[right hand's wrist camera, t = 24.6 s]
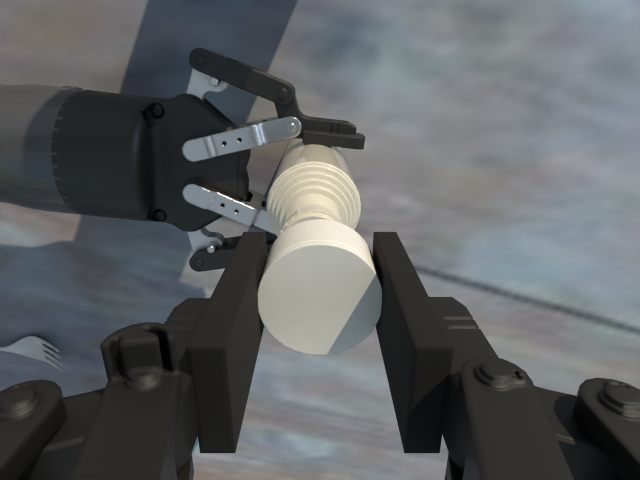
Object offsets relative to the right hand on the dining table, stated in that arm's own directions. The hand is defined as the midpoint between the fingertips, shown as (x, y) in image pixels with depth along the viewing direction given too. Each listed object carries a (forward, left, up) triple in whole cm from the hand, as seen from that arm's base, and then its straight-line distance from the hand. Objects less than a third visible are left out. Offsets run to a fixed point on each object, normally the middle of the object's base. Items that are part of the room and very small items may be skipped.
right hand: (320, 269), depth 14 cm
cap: (0, 0, +2) cm, 2 cm away
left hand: (0, -2, -13) cm, 13 cm away
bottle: (0, 0, -20) cm, 20 cm away
